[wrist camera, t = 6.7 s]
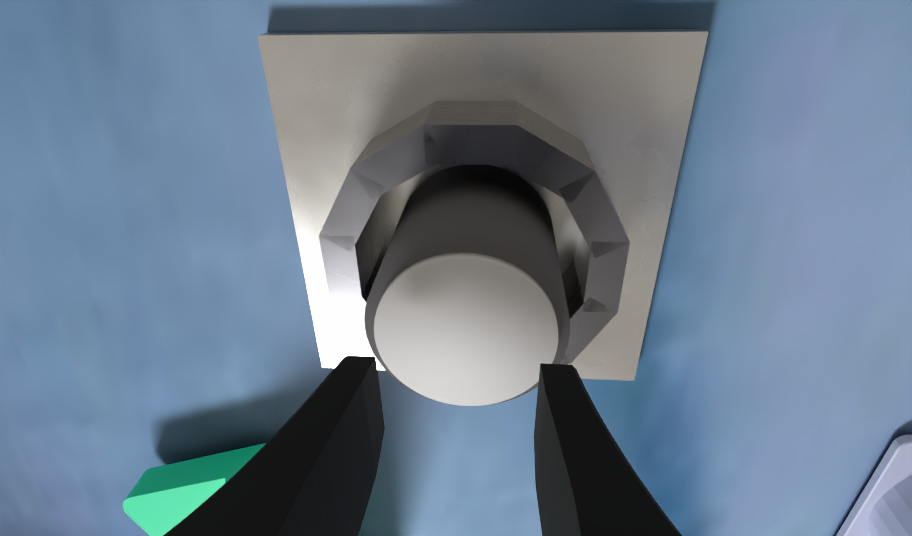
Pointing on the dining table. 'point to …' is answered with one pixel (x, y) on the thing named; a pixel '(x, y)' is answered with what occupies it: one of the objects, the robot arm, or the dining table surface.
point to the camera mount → (181, 488)
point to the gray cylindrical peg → (470, 289)
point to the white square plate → (487, 158)
